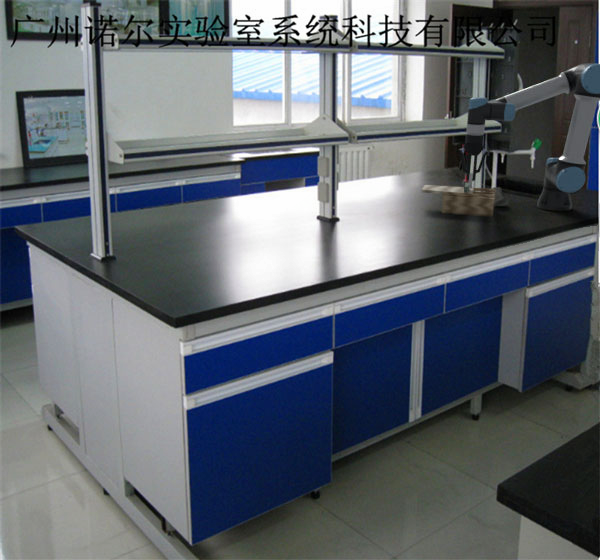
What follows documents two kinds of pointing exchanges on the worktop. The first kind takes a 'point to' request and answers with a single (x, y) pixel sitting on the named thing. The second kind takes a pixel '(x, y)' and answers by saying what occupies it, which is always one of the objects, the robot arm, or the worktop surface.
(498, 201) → the stone
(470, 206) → the box
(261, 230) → the worktop surface
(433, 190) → the cover plate
